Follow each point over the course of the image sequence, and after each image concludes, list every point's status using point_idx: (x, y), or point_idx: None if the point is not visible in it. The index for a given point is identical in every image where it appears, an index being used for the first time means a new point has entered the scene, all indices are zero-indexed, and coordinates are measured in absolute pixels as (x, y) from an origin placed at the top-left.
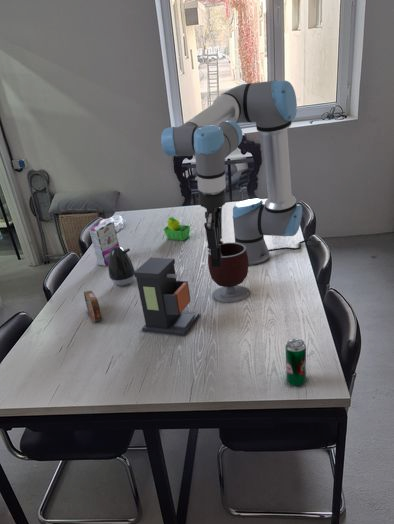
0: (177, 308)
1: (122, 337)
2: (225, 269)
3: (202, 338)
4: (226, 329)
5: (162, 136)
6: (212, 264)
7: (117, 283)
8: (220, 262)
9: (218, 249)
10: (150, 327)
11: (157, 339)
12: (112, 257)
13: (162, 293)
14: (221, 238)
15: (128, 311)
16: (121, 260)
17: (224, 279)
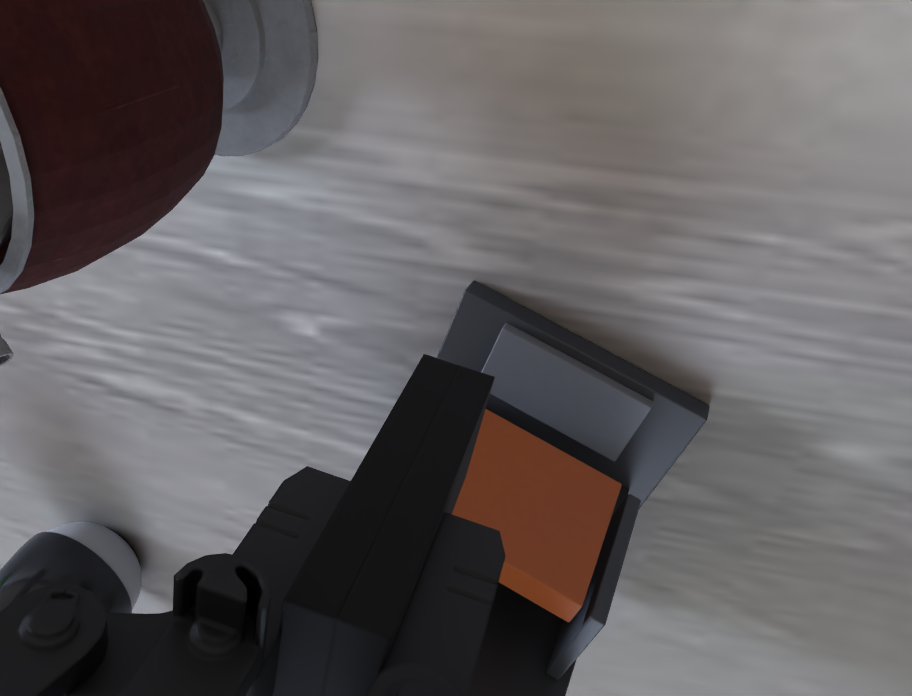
0: (624, 532)
1: (618, 659)
2: (139, 137)
3: (791, 303)
4: (718, 117)
5: None
6: (459, 489)
7: (139, 592)
8: (469, 414)
9: (404, 618)
10: None
11: (698, 535)
12: None
13: (551, 684)
14: (79, 598)
15: None
16: None
17: (203, 125)
